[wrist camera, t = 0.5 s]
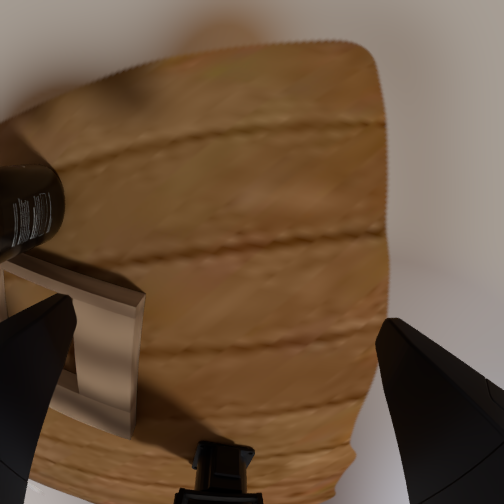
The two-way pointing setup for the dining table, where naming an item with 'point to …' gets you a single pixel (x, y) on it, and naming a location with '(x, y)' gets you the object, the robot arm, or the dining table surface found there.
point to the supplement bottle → (28, 208)
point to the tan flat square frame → (92, 345)
